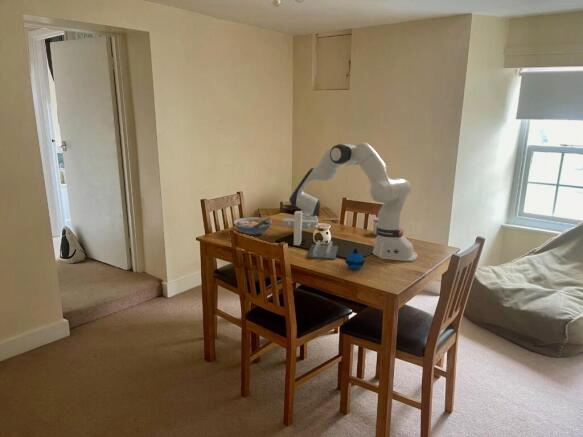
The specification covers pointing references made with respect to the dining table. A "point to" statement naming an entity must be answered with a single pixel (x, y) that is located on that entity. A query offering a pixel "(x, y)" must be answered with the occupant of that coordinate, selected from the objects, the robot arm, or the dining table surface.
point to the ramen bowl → (252, 225)
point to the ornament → (354, 260)
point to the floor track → (322, 251)
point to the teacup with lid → (375, 225)
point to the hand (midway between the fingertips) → (298, 226)
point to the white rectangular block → (297, 227)
